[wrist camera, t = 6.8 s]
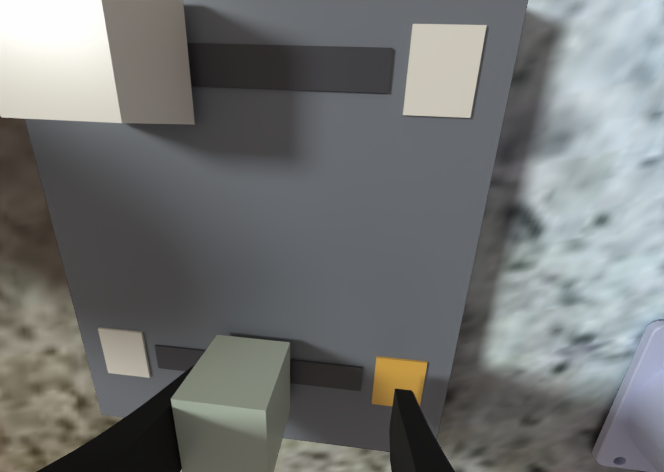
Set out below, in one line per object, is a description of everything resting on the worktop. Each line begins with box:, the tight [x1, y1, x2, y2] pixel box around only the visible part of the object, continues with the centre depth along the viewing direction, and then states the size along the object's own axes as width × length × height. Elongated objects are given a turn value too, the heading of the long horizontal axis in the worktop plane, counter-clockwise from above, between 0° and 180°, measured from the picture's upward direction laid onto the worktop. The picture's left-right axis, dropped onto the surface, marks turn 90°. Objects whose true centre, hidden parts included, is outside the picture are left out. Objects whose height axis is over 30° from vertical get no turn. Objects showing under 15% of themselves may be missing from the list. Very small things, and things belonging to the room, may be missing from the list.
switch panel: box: [25, 0, 528, 452], centre depth 13 cm, size 16×18×2 cm
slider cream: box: [0, 0, 195, 125], centre depth 8 cm, size 3×4×3 cm
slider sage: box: [171, 335, 290, 472], centre depth 12 cm, size 3×4×3 cm
